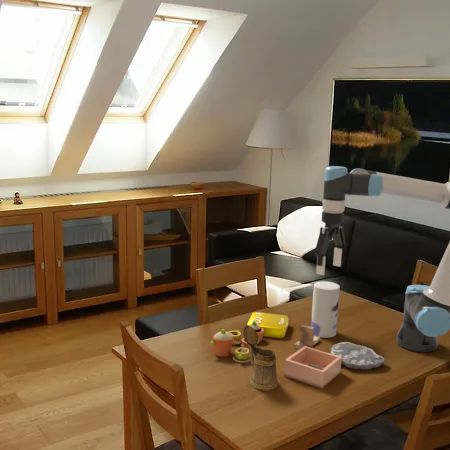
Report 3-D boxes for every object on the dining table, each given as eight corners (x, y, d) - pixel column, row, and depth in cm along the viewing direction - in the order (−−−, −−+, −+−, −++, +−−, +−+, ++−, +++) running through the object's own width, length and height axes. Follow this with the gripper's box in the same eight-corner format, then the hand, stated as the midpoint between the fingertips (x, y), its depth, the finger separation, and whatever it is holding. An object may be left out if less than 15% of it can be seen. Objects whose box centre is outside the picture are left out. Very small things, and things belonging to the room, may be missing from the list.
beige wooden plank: (303, 352, 213) (304, 347, 213) (293, 348, 216) (293, 343, 216) (319, 342, 223) (320, 337, 222) (309, 339, 225) (309, 334, 225)
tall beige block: (312, 359, 207) (314, 327, 204) (309, 360, 205) (311, 329, 203) (300, 355, 210) (302, 324, 207) (298, 357, 208) (300, 326, 205)
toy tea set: (248, 366, 200) (249, 340, 198) (206, 359, 205) (207, 333, 203) (268, 338, 224) (270, 315, 222) (230, 332, 229) (231, 309, 227)
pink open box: (340, 373, 197) (341, 357, 195) (322, 389, 186) (323, 372, 184) (303, 361, 205) (304, 346, 203) (283, 376, 193) (284, 359, 192)
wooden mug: (252, 370, 197) (254, 321, 193) (283, 385, 188) (286, 333, 184) (234, 379, 190) (236, 328, 186) (266, 394, 181) (269, 341, 177)
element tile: (284, 339, 224) (284, 327, 223) (245, 335, 227) (246, 323, 226) (288, 325, 238) (289, 314, 237) (252, 321, 241) (252, 310, 240)
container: (338, 338, 225) (341, 289, 221) (312, 337, 226) (315, 288, 221) (333, 328, 235) (337, 281, 231) (309, 327, 235) (312, 280, 231)
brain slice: (317, 358, 208) (318, 350, 208) (347, 346, 219) (347, 339, 218) (362, 379, 194) (363, 371, 193) (391, 365, 205) (392, 357, 204)
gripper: (338, 205, 213) (334, 260, 217) (306, 214, 193) (302, 275, 197) (357, 207, 209) (352, 264, 213) (327, 218, 189) (322, 280, 193)
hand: (328, 270), depth 205 cm, fingers open, 13 cm apart
